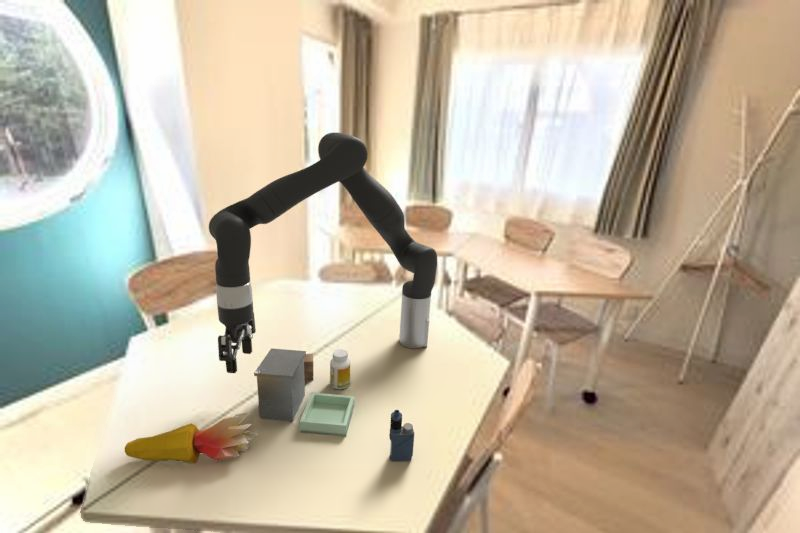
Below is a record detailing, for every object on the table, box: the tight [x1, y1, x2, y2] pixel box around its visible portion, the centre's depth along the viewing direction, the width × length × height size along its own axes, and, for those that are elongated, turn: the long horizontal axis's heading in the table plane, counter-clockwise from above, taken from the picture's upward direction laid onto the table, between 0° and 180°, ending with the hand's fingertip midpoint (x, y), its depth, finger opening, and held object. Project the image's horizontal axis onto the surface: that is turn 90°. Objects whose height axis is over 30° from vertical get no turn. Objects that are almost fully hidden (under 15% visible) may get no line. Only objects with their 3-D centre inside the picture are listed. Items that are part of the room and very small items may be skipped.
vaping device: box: [388, 409, 415, 462], centre depth 86 cm, size 3×5×12 cm, turn 95°
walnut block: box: [304, 353, 314, 382], centre depth 113 cm, size 4×4×6 cm
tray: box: [299, 392, 355, 437], centre depth 98 cm, size 11×11×3 cm
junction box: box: [253, 348, 307, 422], centre depth 100 cm, size 9×11×13 cm
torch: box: [124, 412, 259, 464], centre depth 84 cm, size 8×8×25 cm
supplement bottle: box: [329, 348, 351, 390], centre depth 110 cm, size 5×5×10 cm
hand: (240, 362), depth 98 cm, fingers open, 8 cm apart
